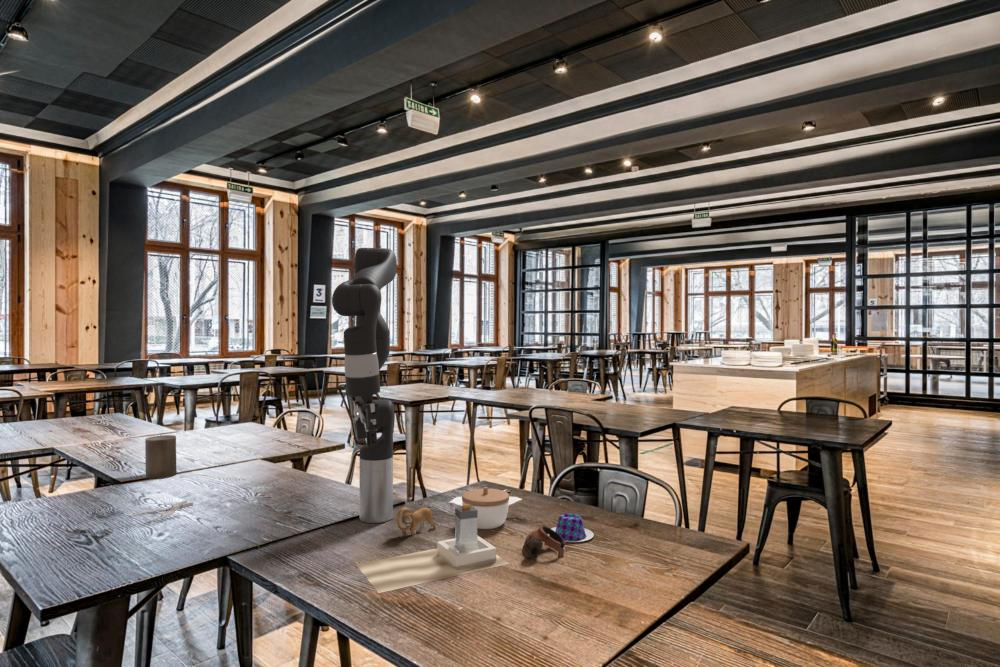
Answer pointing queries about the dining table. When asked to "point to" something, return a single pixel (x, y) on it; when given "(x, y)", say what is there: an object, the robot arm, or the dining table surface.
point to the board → (414, 570)
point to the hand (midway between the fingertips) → (366, 442)
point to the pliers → (172, 509)
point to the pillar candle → (160, 456)
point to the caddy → (466, 554)
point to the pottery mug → (535, 541)
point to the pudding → (572, 528)
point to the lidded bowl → (488, 506)
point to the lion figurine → (414, 519)
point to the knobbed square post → (465, 529)
